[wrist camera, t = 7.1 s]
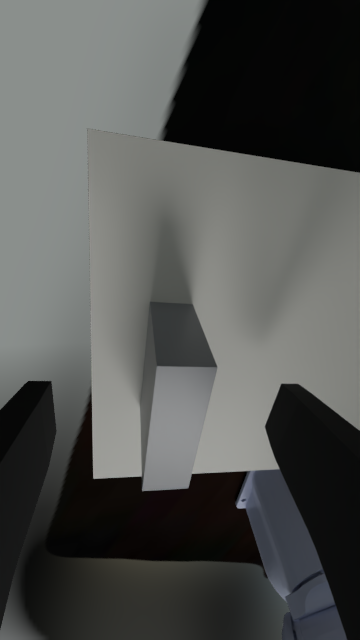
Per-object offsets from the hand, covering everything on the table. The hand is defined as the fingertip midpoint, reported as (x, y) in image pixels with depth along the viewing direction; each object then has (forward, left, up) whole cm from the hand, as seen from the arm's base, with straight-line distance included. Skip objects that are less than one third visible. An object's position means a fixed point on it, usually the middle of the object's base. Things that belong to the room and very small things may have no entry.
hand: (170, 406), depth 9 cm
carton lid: (0, -4, -3) cm, 5 cm away
